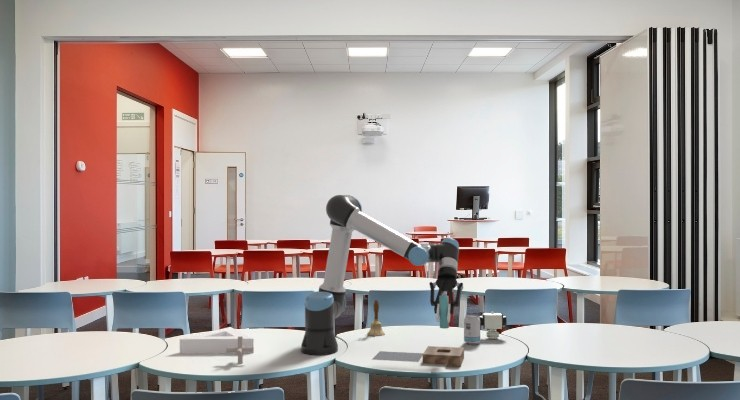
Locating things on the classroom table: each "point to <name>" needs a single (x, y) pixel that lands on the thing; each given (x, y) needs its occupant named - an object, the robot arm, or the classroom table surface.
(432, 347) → the hole block
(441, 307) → the peg
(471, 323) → the beverage can
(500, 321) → the pneumatic valve
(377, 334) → the hand bell
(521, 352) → the classroom table surface
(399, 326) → the classroom table surface
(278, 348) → the classroom table surface
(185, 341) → the triangle block
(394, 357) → the mat
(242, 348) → the pipe connector
